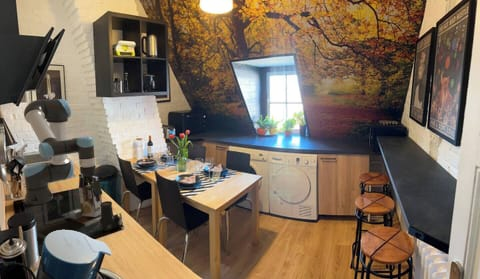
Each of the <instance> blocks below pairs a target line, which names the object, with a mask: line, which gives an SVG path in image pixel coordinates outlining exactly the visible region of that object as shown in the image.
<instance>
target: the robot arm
mask: <svg viewBox="0 0 480 279" xmlns="http://www.w3.org/2000/svg"><path fill="white" fill-rule="evenodd" d="M23 115H24V116H23V118H24V119H25V121H26V122H27V123H28V124H30V126H31V128H32V130H33V132H34V134H35V136H36V137H37V140H38V141H39V144H38V153H39V156H40V157H41V158H51V159H50V160H49V161H48V163H49V164H46V163H44V162H40V163H34V164H31V165H29V166H27V167H25V168H24V169H23V177H24V183H25V189H26V191H25V196H24V205H26V206H39V205H42V204H46V203H49V202H50V201H52V200H54V196H53V195H54V194H53V193H52V191H51V190H50V188H49V184H50V183H55V182H60V181H65V180H68V179H71V178H72V177H73V176H74V172H75V168H74V164H73V162H72V160H70V158H68V155H69V154H76V153H78V162H79V163H78V164H79V174H78V177H79V179H78V188H79V187H82V186H85V185H88V184H89V185H91V187H92V188H93V191H94V194H95V196H94V202H95V208H97V207H100V195H101V196H102V195H103V191H102V186H101V183H100V178H99V176H95V173H96V171H97V169H96V157H95V148H94V146H95V144H94V139H93V137H92V136H88V135H85V136H79V137H74V138H71V139H67V130H66V123H67V122H69V118H71V117H72V110H71V106H70V104H69V102H68V101H67V100H66V99H63V98H62V99H60V98H52V99H49V98H48V99H37V100H34V101H33V100H32V101H31V102H29V103H28V104H27V105H26V106H25V108H24V111H23ZM96 193H97V194H96Z"/></svg>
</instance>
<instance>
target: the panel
mask: <svg viewBox="0 0 480 279" xmlns="http://www.w3.org/2000/svg"><path fill="white" fill-rule="evenodd" d="M79 209H80V210H81V208H79ZM61 217H65V218H67V219H70V220H72V221H76V222H78V223H80V224H83V225H84V227H88V226H90V225H92V224H95V223H97V222H99V220H100V219H101V214H100V215H98V216H96V217H91V216H84V217H81V218H79V219H73V218H70V217H69V212H67V213H63V214H61Z"/></svg>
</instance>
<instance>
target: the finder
mask: <svg viewBox="0 0 480 279" xmlns="http://www.w3.org/2000/svg"><path fill="white" fill-rule="evenodd" d="M80 209H81V208H76V209H73V210H71V211H68V213H69V216H68V217H69V218H70V219H71V218H72V220H73V219H74V220H75V219H76V220H79V218H83V217H84V216H83V215H82V211H81V210H80ZM84 218H85V217H84Z"/></svg>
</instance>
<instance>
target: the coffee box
mask: <svg viewBox="0 0 480 279" xmlns="http://www.w3.org/2000/svg"><path fill="white" fill-rule="evenodd" d="M78 193H79V201H80V202H79V203H80V209H81V211H82V215H83V216H90V218H93V217H95V218H96V217H97V216H98V215H101V207H97V208H95V202H94V196H95V194H94V191H93V188H92V187H91V185H89V183H88V185H85V186H82V187H79V186H78ZM96 194H97V193H96ZM102 199H103V198H102V194H101V195H100V204H101V203H102V202H103V200H102Z"/></svg>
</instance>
